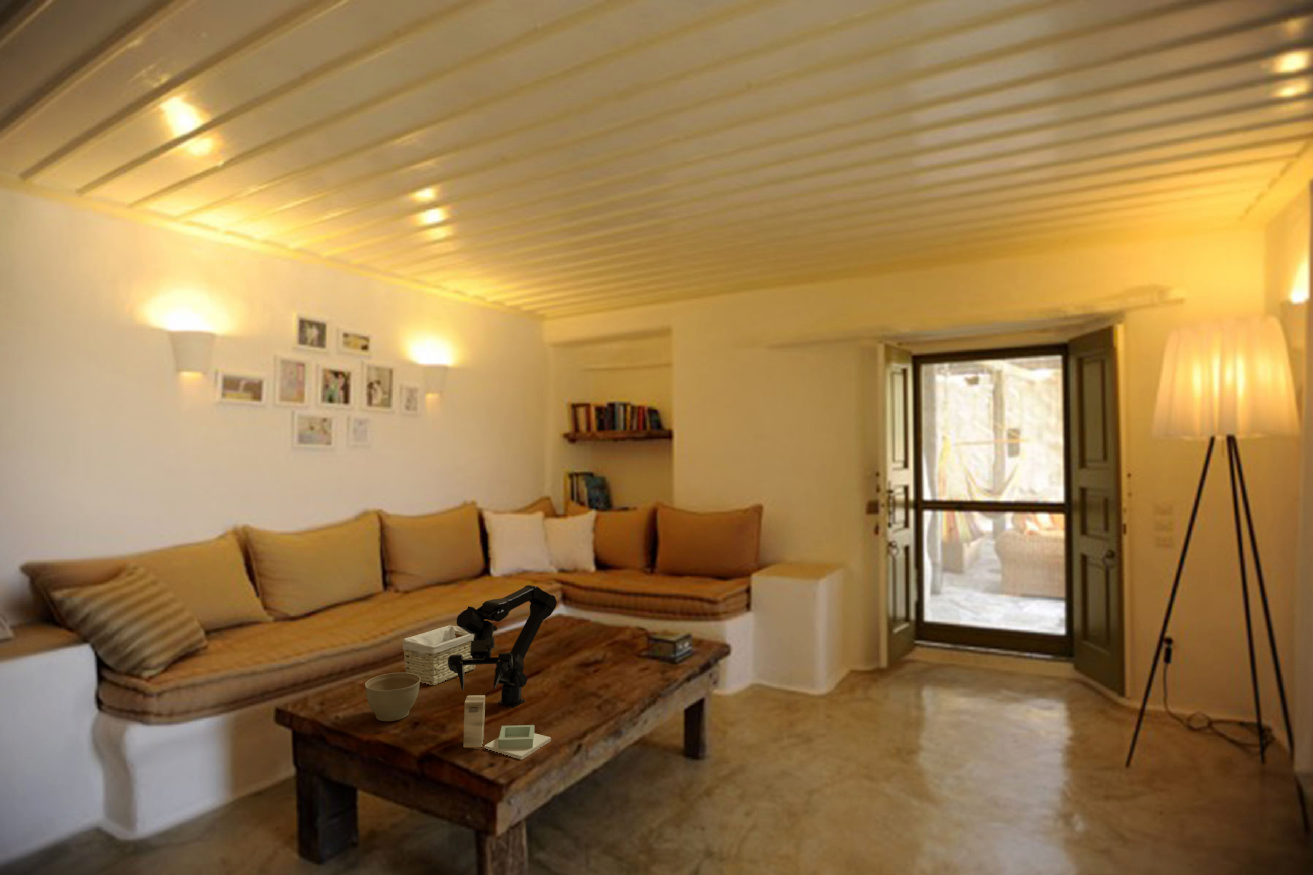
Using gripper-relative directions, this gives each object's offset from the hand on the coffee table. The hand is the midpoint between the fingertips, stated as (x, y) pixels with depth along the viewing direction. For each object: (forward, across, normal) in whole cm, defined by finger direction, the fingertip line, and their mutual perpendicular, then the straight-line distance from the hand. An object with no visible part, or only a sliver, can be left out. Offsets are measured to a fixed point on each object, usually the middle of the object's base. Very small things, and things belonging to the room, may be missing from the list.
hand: (478, 689), depth 200 cm
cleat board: (+16, +12, +3) cm, 20 cm away
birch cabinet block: (+15, 0, +3) cm, 15 cm away
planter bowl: (-1, -28, +19) cm, 34 cm away
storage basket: (-26, -21, +48) cm, 58 cm away
